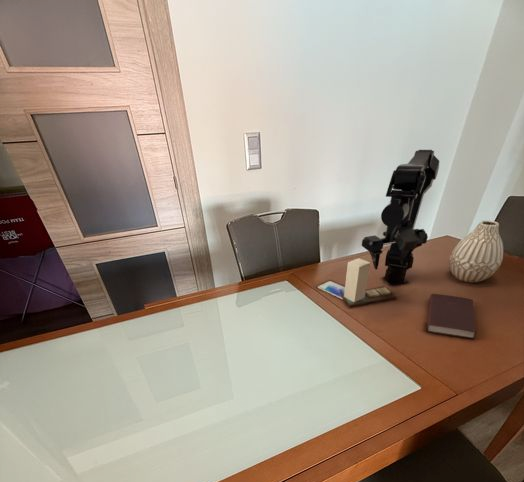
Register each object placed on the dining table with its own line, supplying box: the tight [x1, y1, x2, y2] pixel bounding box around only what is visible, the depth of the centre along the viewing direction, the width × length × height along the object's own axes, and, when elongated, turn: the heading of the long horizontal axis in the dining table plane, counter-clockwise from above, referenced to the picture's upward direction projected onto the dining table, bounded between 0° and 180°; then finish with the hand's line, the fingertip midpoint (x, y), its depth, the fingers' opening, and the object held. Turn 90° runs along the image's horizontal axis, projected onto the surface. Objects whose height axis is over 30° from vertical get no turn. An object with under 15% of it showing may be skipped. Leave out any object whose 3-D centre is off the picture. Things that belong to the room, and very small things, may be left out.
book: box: [426, 293, 477, 339], centre depth 94 cm, size 12×19×3 cm, turn 155°
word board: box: [340, 285, 396, 308], centre depth 108 cm, size 17×8×2 cm, turn 102°
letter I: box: [344, 257, 371, 302], centre depth 103 cm, size 5×5×13 cm
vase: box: [448, 220, 505, 284], centre depth 108 cm, size 16×16×20 cm
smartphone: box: [317, 280, 345, 300], centre depth 113 cm, size 7×1×15 cm
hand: (388, 266), depth 97 cm, fingers open, 9 cm apart
